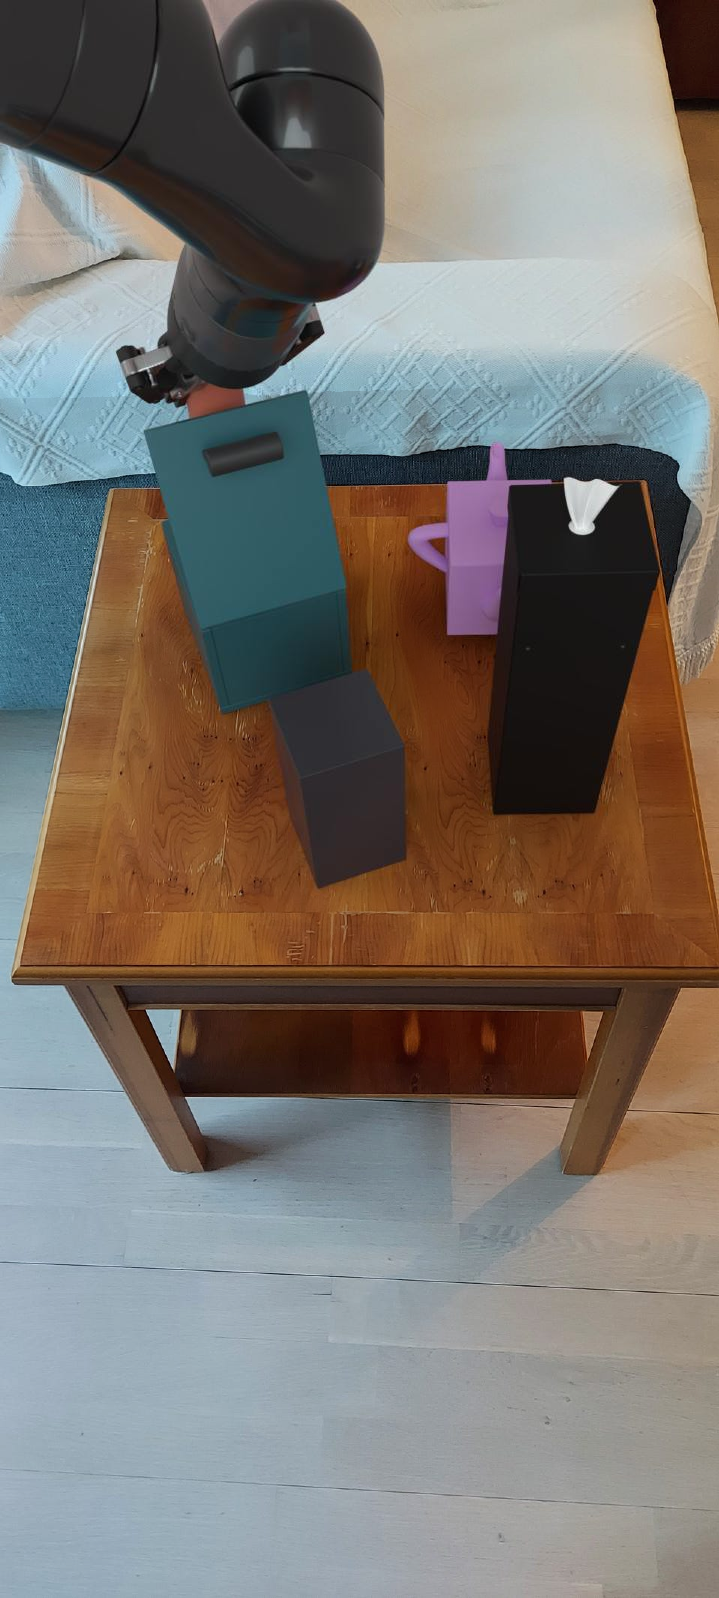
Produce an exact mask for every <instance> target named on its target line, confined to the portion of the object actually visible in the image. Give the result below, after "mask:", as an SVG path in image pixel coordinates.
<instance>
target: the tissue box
mask: <svg viewBox="0 0 719 1598" xmlns="http://www.w3.org/2000/svg"><path fill="white" fill-rule="evenodd" d="M645 501H646V500H645V497H644V492H643V488H642V483H641V481H640V480H639V481H638V480H635V481H634V480H633V481H631V480H630V481H605V480H602V479H599V478H595V479H593V480H590V481H582V480H578V479H576V478H574V477H568V476H567V477H564V478H563V483H552V484H528V485H511V486H509V493H508V504H507V509H508V523H507V534H506V545H505V555H504V566H503V576H502V587H501V598H500V608H499V619H498V629H497V634H496V642H495V653H494V661H493V662H494V663H493V672H492V675H493V676H492V684H491V695H490V705H489V713H488V714H489V716H488V726H487V735H486V736H487V749H488V750H487V751H488V760H489V761H488V765H489V776H490V777H489V779H490V791H491V801H492V802H491V803H492V814H493V815H494V816H503V815H504V816H507V815H511V816H512V815H514V816H515V815H516V816H517V815H570V814H571V815H575V814H578V815H581V814H595V813H596V810H597V806H598V803H599V800H600V799H599V798H600V795H601V791H602V789H603V784H604V780H605V776H606V773H607V768H608V765H609V761H610V758H611V753H612V750H613V746H614V742H615V740H616V739H615V738H616V736H617V731H618V728H619V727H618V726H619V723H620V719H621V716H622V712H623V709H624V704H625V701H626V696H627V694H628V689H629V685H630V682H631V678H632V674H633V670H634V666H635V662H636V658H637V655H638V651H639V648H640V644H641V640H642V636H643V632H644V628H645V624H646V622H647V617H648V613H649V610H650V606H651V602H652V598H653V594H654V591H656V589H657V585H658V581H659V577H660V574H661V568H660V564H659V563H660V562H659V559H658V554H657V551H656V550H657V549H656V546H655V542H654V537H653V533H652V528H651V524H650V520H649V513H648V511H647V507H646V502H645Z"/></svg>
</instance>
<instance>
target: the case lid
mask: <svg viewBox="0 0 719 1598" xmlns="http://www.w3.org/2000/svg"><path fill="white" fill-rule="evenodd" d="M245 404H246V403H245ZM142 432H143V434H144V437H145V441H146V445H147V450H148V453H149V456H150V459H151V462H152V466H153V468H154V470H153V471H154V474H155V477H156V480H157V484H158V487H159V491H160V494H161V497H162V501H163V504H164V509H165V512H166V515H167V520H169V522H170V526H171V529H172V533H173V536H174V540H175V543H176V547H177V550H178V554H179V557H180V561H181V564H182V568H183V571H184V575H185V578H186V582H187V585H188V588H189V592H190V595H191V599H192V602H193V606H194V609H195V613H196V616H197V620H198V623H199V626H200V628H201V629H204V628H208V627H211V626H215V625H218V624H222V623H225V622H229V621H232V620H236V619H239V618H243V617H246V616H250V615H253V614H257V613H260V612H264V611H268V610H271V609H275V608H278V607H282V606H285V605H289V604H292V603H296V602H299V601H303V600H306V599H310V598H313V597H317V596H320V595H324V594H327V593H331V592H334V591H338V590H342V589H345V590H346V589H347V588H348V585H347V581H346V576H345V570H344V566H343V561H342V556H341V550H340V546H339V540H338V536H337V531H336V526H335V521H334V517H333V510H332V506H331V501H330V497H329V492H328V491H329V490H328V487H327V481H326V477H325V471H324V466H323V462H322V458H321V454H320V453H321V452H320V451H321V450H320V447H319V443H318V437H317V432H316V427H315V423H314V417H313V413H312V408H311V403H310V397H309V392H308V391H307V390H305V389H303V390H298V391H295V392H290V393H287V394H283V395H278V396H275V397H271V398H267V399H263V400H259V401H255V402H251V403H247V404H246V405H242V406H238V407H234V408H230V409H226V410H222V411H218V412H214V413H210V414H206V415H202V416H198V417H194V418H186V419H183V420H178V421H174V422H170V423H167V424H162V425H158V426H155V427H150V428H145V429H143V431H142Z"/></svg>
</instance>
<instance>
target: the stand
mask: <svg viewBox="0 0 719 1598" xmlns="http://www.w3.org/2000/svg"><path fill="white" fill-rule="evenodd" d="M267 702H268V707H269V712H270V719H271V723H272V728H273V729H272V730H273V734H274V739H275V744H276V751H277V755H278V761H279V766H280V771H281V776H282V777H281V778H282V782H283V788H284V794H285V798H286V803H287V809H288V813H289V814H288V815H289V817H290V821H291V823H292V826H293V828H294V831H295V833H296V836H297V838H298V842H299V844H300V847H301V849H302V852H303V855H304V857H305V860H306V862H307V864H308V867H309V870H310V872H311V873H310V874H311V876H312V878H313V880H314V883H315V886H316V888H317V889H318V890H319V889H321V888H324V887H325V888H326V887H328V886H331V885H334V884H337V883H339V882H342V881H346V880H349V879H352V878H355V877H358V876H361V875H364V874H367V873H370V872H372V871H376V870H379V869H383V868H386V867H388V866H391V865H394V864H397V863H400V862H403V861H406V860H407V821H406V820H407V816H406V815H407V814H406V758H405V757H406V753H405V752H406V751H405V749H406V748H405V743H404V742H403V739H402V737H401V735H400V733H399V730H398V729H397V727H396V725H395V723H394V721H393V719H392V716H391V715H390V713H389V710H388V708H387V706H386V705H385V702H384V700H383V698H382V696H381V694H380V692H379V690H378V688H377V685H376V684H375V682H374V679H373V678H372V675H371V673H370V671H369V669H368V668H366V669H362V670H359V671H355V672H352V674H348V675H345V676H342V677H338V678H335V679H331V680H328V681H325V682H321V683H318V684H315V685H311V686H308V687H305V688H301V689H298V690H295V691H291V692H288V693H284V694H281V695H278V696H274V697H271V698H268V701H267Z"/></svg>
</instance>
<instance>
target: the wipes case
mask: <svg viewBox="0 0 719 1598" xmlns="http://www.w3.org/2000/svg"><path fill="white" fill-rule="evenodd" d="M160 524H161V529H162V532H163V535H164V540H165V544H166V547H167V551H168V556H169V559H170V562H171V566H172V570H173V574H174V578H175V581H176V586H177V589H178V592H179V597H180V600H181V605H182V608H183V610H184V613H185V616H186V618H187V621H188V624H189V627H190V630H191V633H192V635H193V638H194V641H195V644H196V646H197V649H198V650H197V651H198V653H199V655H200V658H201V660H202V663H203V666H204V668H205V672H206V675H207V677H208V680H209V684H210V685H211V688H212V691H213V694H214V697H215V700H216V702H217V705H218V708H219V711H220V714H221V715H225V714H228V713H231V712H236V711H237V710H241V709H245V708H249V707H251V706H255V705H259V704H261V703H265V702H268V698H271V697H274V696H278V695H281V694H284V693H288V692H291V691H295V690H298V689H301V688H305V687H308V686H311V685H315V684H318V683H321V682H325V681H328V680H331V679H335V678H338V677H342V676H345V675H348V674H352V673H353V665H352V664H353V663H352V653H351V651H352V650H351V641H350V640H351V637H350V626H349V612H348V603H347V602H348V601H347V591H346V588H345V589H342V590H338V591H334V592H331V593H327V594H324V595H320V596H317V597H313V598H310V599H306V600H303V601H299V602H296V603H292V604H289V605H285V606H282V607H278V608H275V609H271V610H268V611H264V612H260V613H257V614H253V615H250V616H246V617H243V618H239V619H236V620H232V621H229V622H225V623H222V624H218V625H215V626H211V627H208V628H204V629H201V628H200V626H199V623H198V620H197V616H196V613H195V609H194V606H193V602H192V599H191V595H190V592H189V588H188V585H187V582H186V578H185V575H184V571H183V568H182V564H181V561H180V557H179V554H178V550H177V547H176V543H175V540H174V536H173V533H172V529H171V526H170V522H169V519H166V520H162V521H161V522H160Z"/></svg>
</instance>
